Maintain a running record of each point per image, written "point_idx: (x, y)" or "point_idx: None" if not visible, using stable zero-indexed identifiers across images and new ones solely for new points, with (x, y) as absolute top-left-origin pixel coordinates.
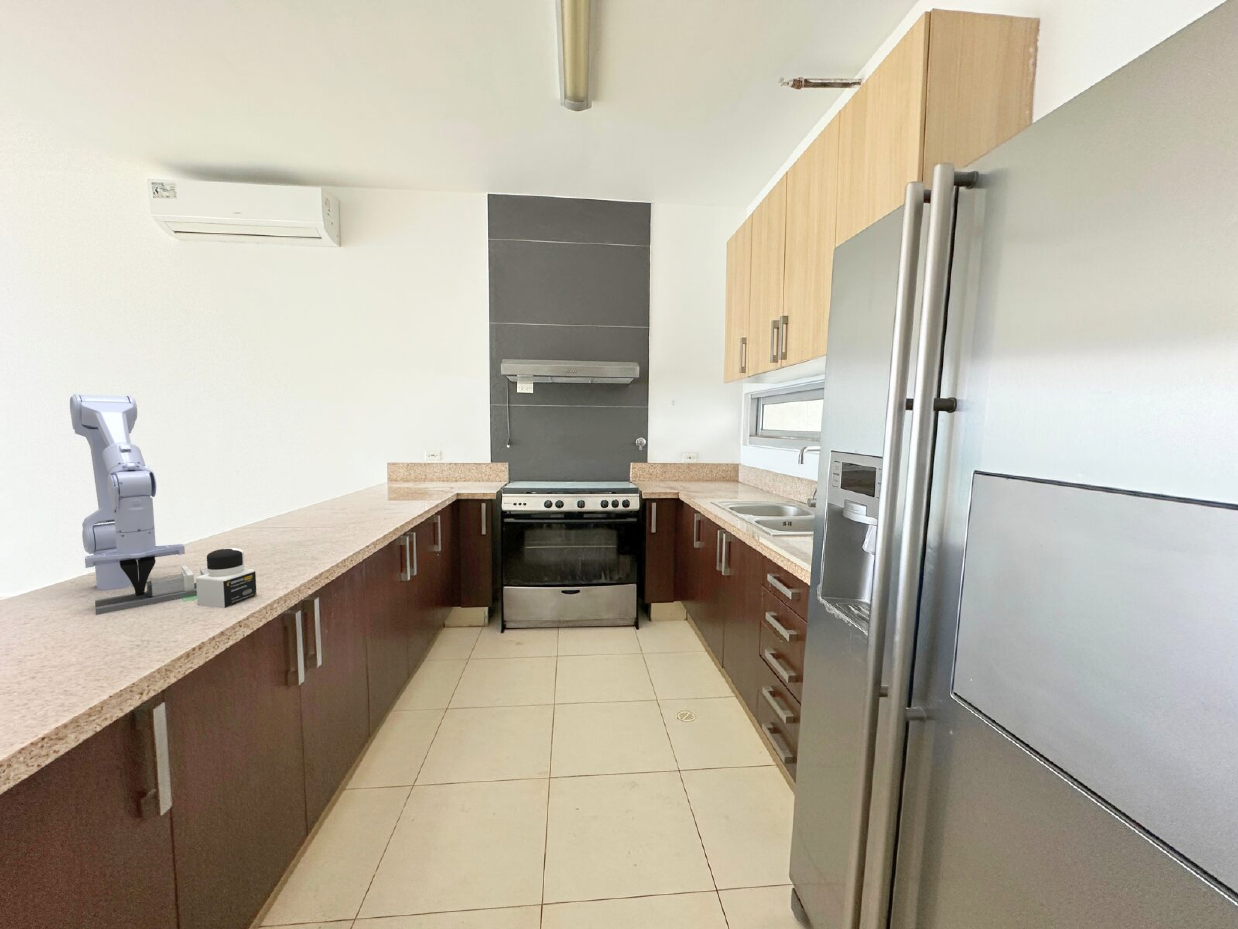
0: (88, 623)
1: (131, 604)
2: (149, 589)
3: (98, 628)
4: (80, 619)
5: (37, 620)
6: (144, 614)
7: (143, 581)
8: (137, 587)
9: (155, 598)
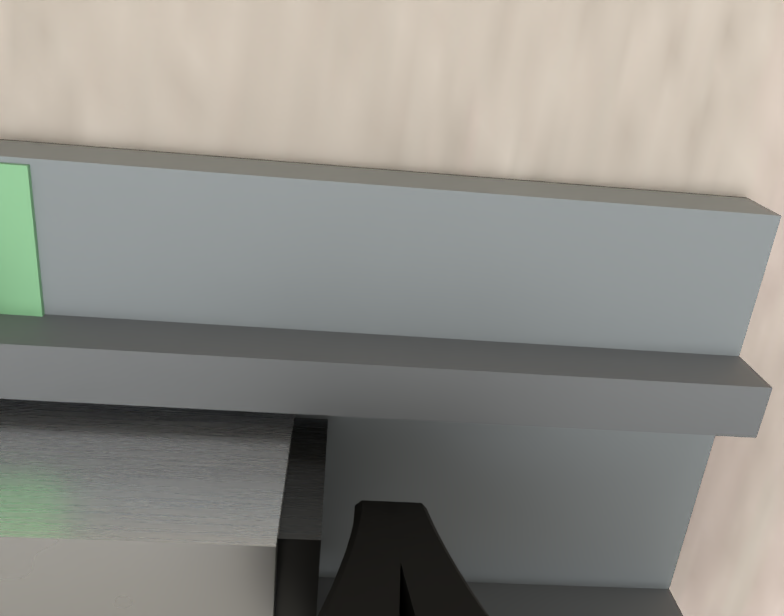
0: (762, 321)
1: (484, 361)
2: (308, 500)
3: (766, 85)
4: (760, 477)
5: None
6: None
7: (361, 604)
8: (424, 557)
9: (274, 360)
